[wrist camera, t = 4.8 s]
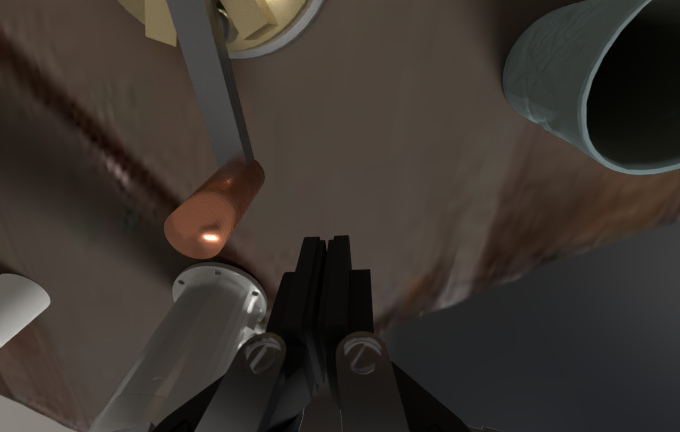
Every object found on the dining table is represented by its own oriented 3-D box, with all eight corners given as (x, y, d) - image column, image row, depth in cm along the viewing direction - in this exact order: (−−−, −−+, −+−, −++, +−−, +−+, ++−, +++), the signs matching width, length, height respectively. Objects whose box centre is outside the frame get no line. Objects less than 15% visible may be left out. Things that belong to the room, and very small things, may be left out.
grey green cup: (561, 140, 28) (683, 196, 18) (467, 104, 27) (540, 142, 16) (649, 19, 23) (892, -2, 13) (539, -32, 22) (708, -101, 11)
